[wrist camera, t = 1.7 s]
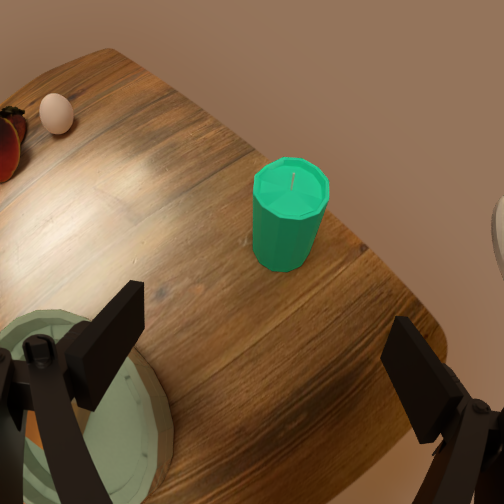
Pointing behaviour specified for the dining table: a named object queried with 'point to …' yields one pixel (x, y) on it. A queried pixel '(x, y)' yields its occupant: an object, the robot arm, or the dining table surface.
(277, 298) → the dining table surface
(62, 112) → the egg
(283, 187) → the candle
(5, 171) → the mushroom
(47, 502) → the bowl
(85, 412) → the block
